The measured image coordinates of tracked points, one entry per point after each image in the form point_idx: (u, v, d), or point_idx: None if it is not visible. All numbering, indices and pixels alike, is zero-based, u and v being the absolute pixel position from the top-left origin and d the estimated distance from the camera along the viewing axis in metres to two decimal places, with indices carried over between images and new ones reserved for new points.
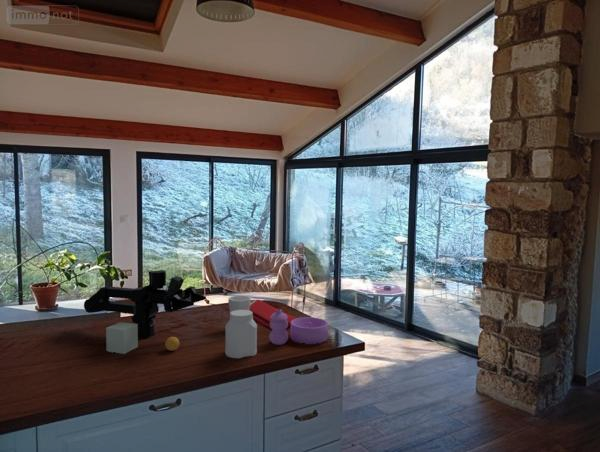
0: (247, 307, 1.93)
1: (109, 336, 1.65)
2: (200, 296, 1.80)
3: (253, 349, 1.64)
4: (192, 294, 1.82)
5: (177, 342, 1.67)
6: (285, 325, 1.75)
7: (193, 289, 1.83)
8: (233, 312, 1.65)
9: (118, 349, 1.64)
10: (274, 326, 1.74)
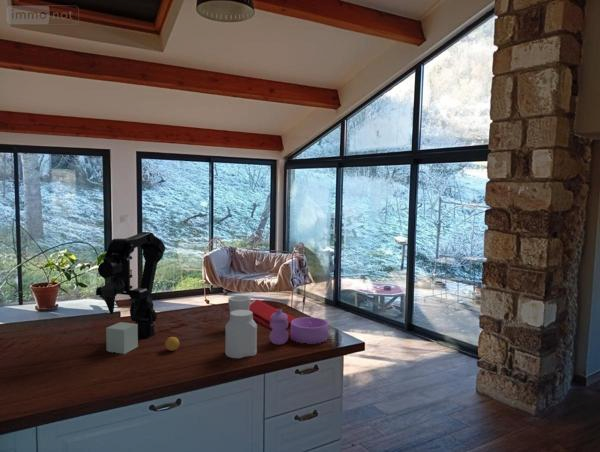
0: (247, 307, 1.93)
1: (109, 336, 1.65)
2: None
3: (253, 349, 1.64)
4: None
5: (177, 342, 1.67)
6: (285, 325, 1.75)
7: (131, 300, 1.63)
8: (233, 312, 1.65)
9: (118, 349, 1.64)
10: (274, 326, 1.75)
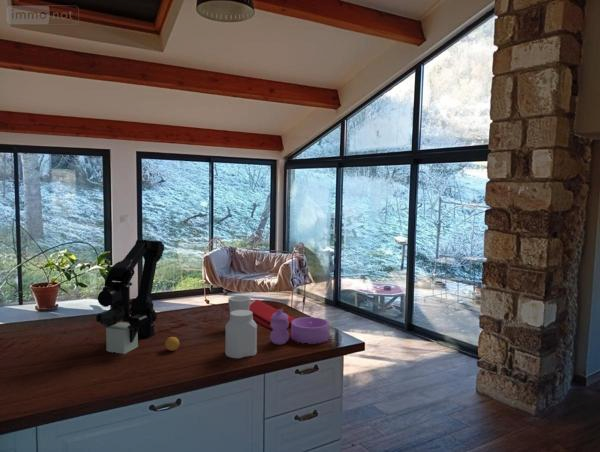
0: (247, 307, 1.93)
1: (109, 336, 1.65)
2: None
3: (253, 349, 1.64)
4: None
5: (177, 342, 1.67)
6: (286, 325, 1.75)
7: (130, 327, 1.64)
8: (233, 312, 1.65)
9: (118, 349, 1.64)
10: (275, 326, 1.75)
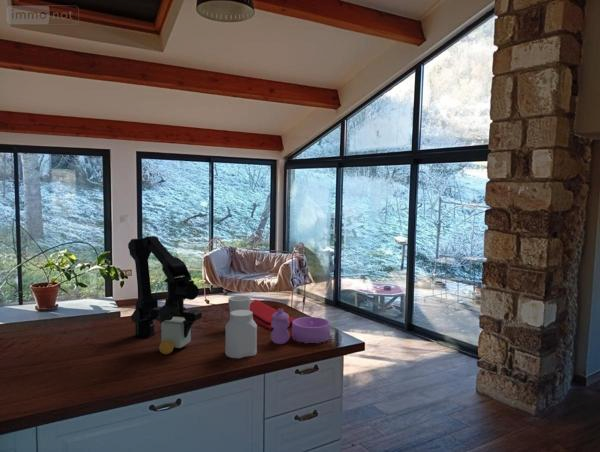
0: (247, 307, 1.93)
1: (164, 331, 1.67)
2: None
3: (253, 349, 1.64)
4: None
5: (170, 349, 1.63)
6: (286, 324, 1.76)
7: (185, 322, 1.65)
8: (233, 312, 1.65)
9: (174, 343, 1.66)
10: (275, 325, 1.75)
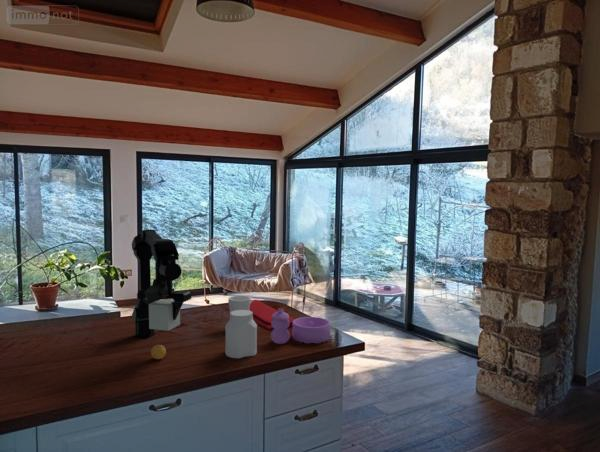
0: (247, 307, 1.93)
1: (152, 313, 1.59)
2: None
3: (253, 349, 1.64)
4: None
5: (165, 353, 1.59)
6: (286, 324, 1.76)
7: (174, 304, 1.57)
8: (233, 312, 1.65)
9: (162, 326, 1.58)
10: (275, 325, 1.75)
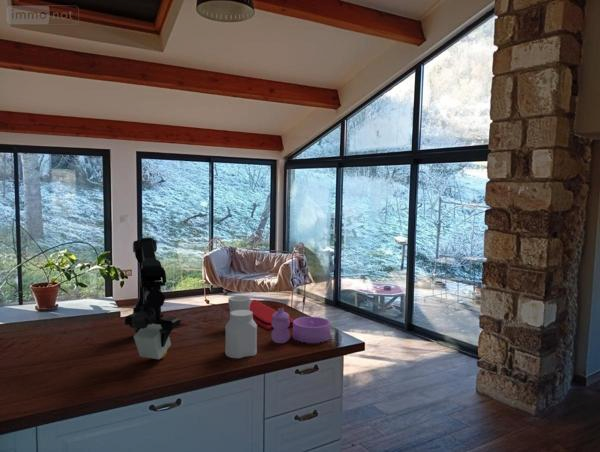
0: (247, 307, 1.93)
1: (139, 344, 1.53)
2: None
3: (253, 349, 1.64)
4: None
5: (165, 353, 1.60)
6: (286, 324, 1.77)
7: (162, 331, 1.52)
8: (233, 312, 1.65)
9: (152, 355, 1.54)
10: (275, 325, 1.76)
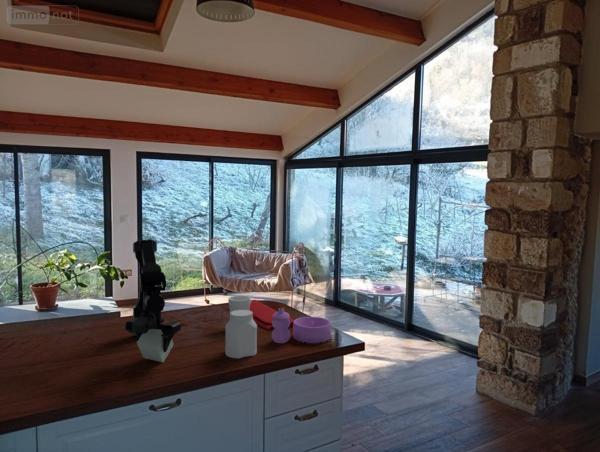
0: (247, 307, 1.93)
1: (142, 348, 1.54)
2: None
3: (253, 349, 1.64)
4: None
5: None
6: (287, 324, 1.77)
7: (164, 336, 1.51)
8: (233, 312, 1.65)
9: (155, 358, 1.56)
10: (276, 325, 1.76)
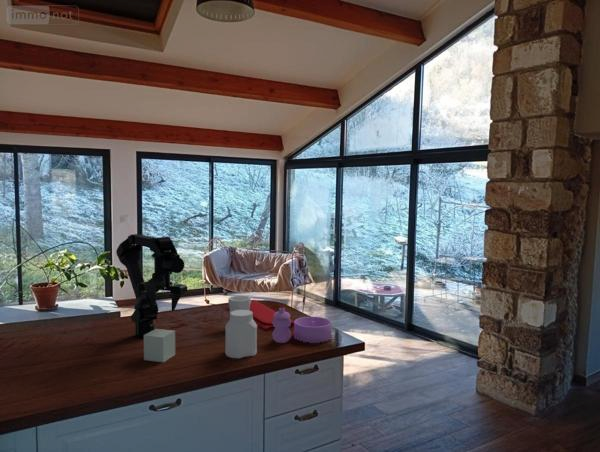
0: (247, 307, 1.93)
1: (147, 344, 1.57)
2: None
3: (253, 349, 1.64)
4: None
5: None
6: (287, 324, 1.77)
7: (172, 296, 1.70)
8: (233, 312, 1.65)
9: (157, 357, 1.57)
10: (276, 325, 1.76)
